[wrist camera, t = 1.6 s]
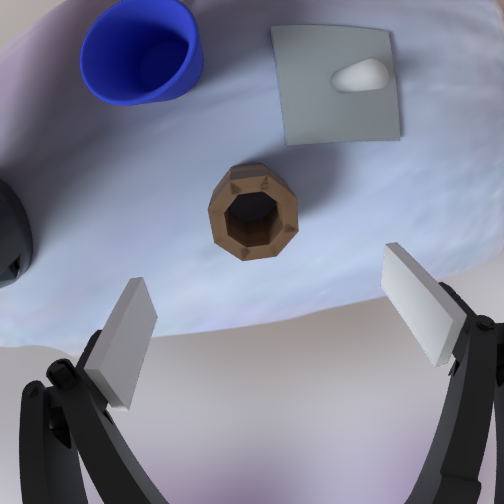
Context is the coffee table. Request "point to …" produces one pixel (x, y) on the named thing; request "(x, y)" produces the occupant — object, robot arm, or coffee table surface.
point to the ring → (254, 232)
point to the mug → (142, 52)
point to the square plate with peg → (335, 84)
